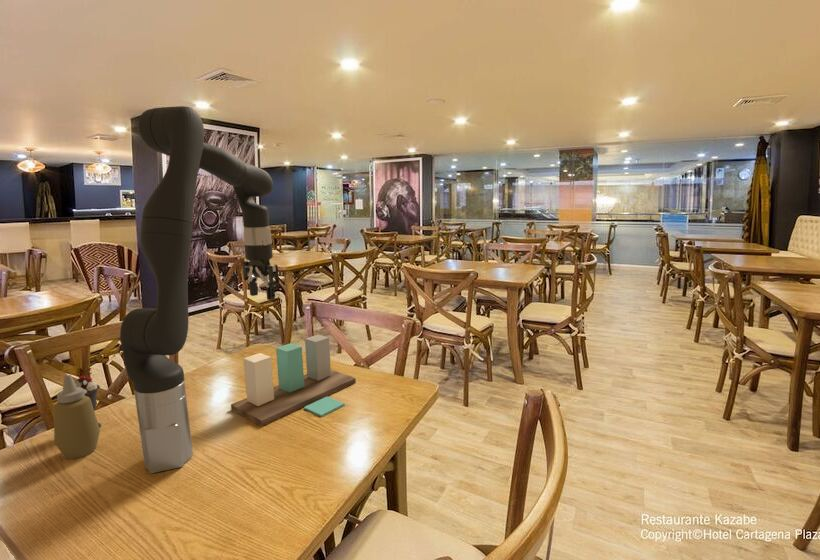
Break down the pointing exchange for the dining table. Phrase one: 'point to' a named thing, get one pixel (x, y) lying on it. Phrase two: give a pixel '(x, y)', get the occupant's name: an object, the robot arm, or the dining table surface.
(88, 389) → the sundae
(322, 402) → the pad
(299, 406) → the dark wooden board
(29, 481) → the dining table surface
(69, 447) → the squeeze bottle
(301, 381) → the tall teal pillar
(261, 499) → the dining table surface
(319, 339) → the tall grey rectangular prism
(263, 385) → the cream tall rectangular block
